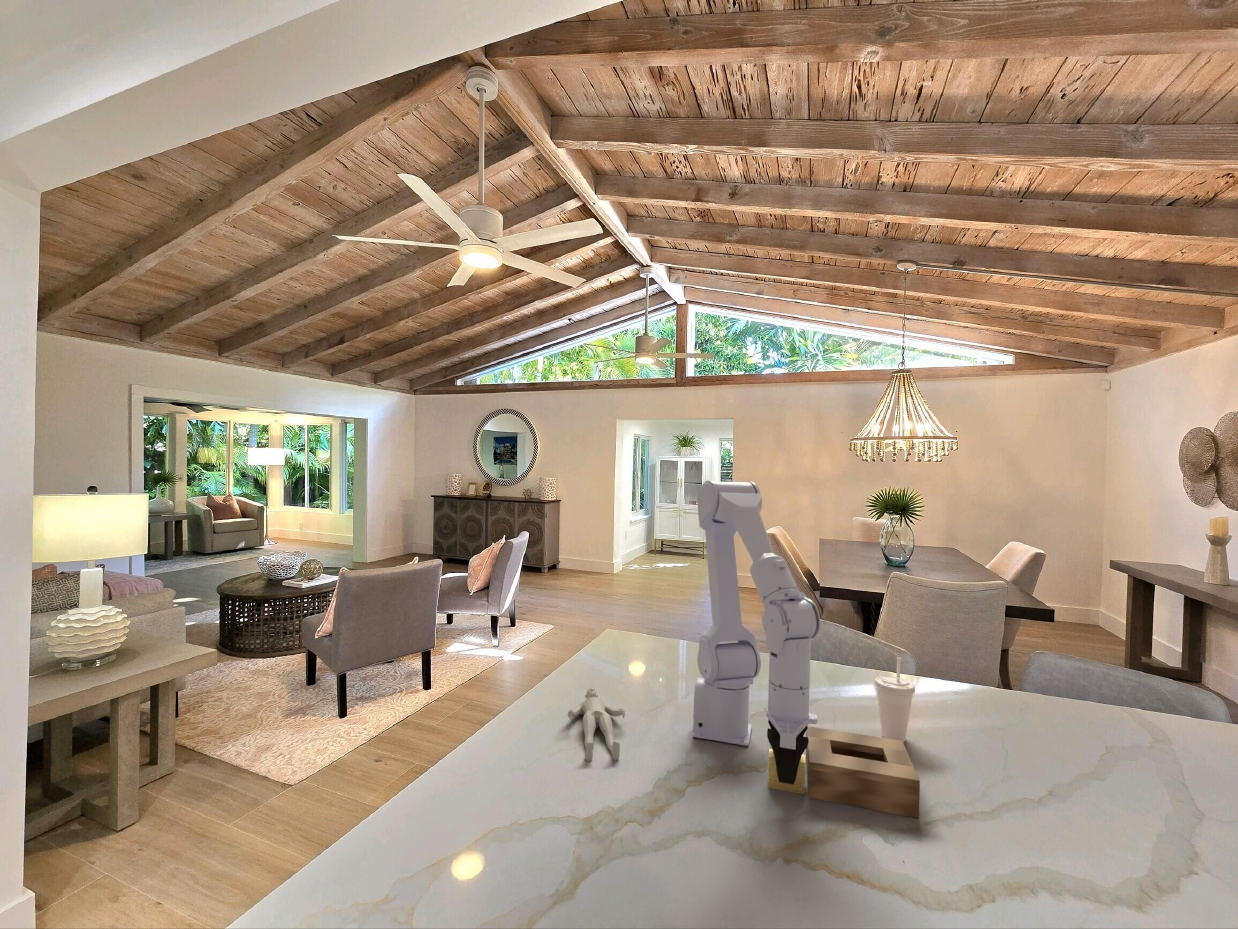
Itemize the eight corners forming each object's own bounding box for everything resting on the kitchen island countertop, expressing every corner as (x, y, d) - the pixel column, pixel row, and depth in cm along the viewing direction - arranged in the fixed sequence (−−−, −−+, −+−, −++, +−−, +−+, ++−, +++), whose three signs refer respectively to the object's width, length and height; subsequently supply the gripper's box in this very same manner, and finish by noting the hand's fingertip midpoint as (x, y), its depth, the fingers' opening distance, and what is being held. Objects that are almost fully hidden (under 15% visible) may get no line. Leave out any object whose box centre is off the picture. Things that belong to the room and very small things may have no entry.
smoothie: (919, 748, 94) (921, 665, 95) (878, 743, 96) (880, 661, 96) (907, 731, 101) (909, 653, 101) (869, 727, 102) (871, 650, 102)
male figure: (570, 738, 87) (565, 684, 108) (570, 763, 86) (564, 704, 108) (635, 736, 88) (616, 683, 110) (634, 761, 88) (616, 703, 110)
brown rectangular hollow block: (808, 797, 79) (809, 761, 79) (805, 757, 90) (806, 726, 90) (918, 818, 75) (919, 780, 75) (901, 773, 86) (902, 740, 86)
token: (768, 787, 81) (769, 756, 81) (768, 779, 83) (769, 748, 83) (804, 794, 79) (805, 762, 80) (803, 785, 82) (804, 754, 82)
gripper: (820, 705, 74) (818, 809, 73) (815, 670, 87) (813, 757, 87) (765, 697, 76) (762, 799, 75) (769, 664, 89) (766, 749, 89)
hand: (786, 776), depth 81 cm, fingers open, 3 cm apart
